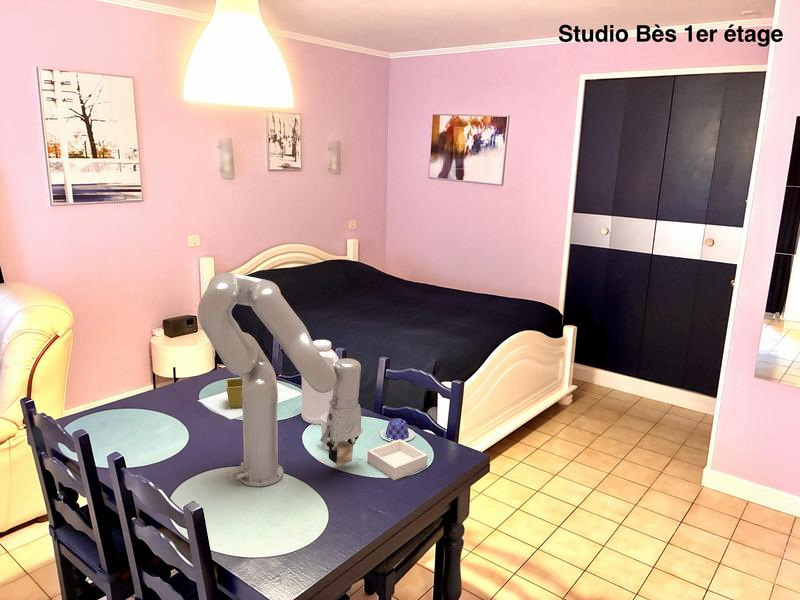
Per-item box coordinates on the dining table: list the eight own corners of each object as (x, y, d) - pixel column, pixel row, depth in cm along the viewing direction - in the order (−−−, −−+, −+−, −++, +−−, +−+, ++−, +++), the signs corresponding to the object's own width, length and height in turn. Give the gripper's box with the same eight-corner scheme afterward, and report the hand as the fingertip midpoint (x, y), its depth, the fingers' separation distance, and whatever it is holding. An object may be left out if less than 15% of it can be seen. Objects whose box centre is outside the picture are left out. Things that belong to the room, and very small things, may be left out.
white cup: (341, 453, 187) (341, 424, 185) (317, 450, 188) (317, 421, 186) (348, 442, 195) (348, 413, 192) (325, 439, 196) (325, 411, 194)
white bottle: (323, 428, 203) (324, 351, 197) (293, 418, 210) (292, 343, 204) (348, 414, 215) (349, 341, 209) (318, 405, 222) (319, 334, 216)
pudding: (406, 447, 193) (407, 432, 192) (373, 439, 198) (373, 424, 197) (420, 432, 204) (420, 418, 203) (388, 425, 209) (389, 411, 208)
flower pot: (226, 401, 223) (225, 378, 220) (250, 399, 225) (250, 377, 223) (227, 411, 214) (226, 387, 212) (252, 408, 217) (251, 385, 215)
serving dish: (394, 480, 172) (394, 467, 172) (367, 462, 182) (367, 450, 181) (427, 467, 181) (427, 455, 180) (399, 450, 190) (400, 439, 189)
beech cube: (338, 465, 173) (339, 449, 172) (328, 458, 177) (329, 442, 176) (351, 461, 177) (353, 445, 176) (342, 454, 180) (343, 439, 179)
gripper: (327, 411, 165) (323, 470, 169) (375, 400, 176) (370, 456, 180) (313, 401, 170) (309, 459, 174) (360, 391, 181) (356, 446, 185)
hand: (340, 457), depth 177 cm, fingers closed on beech cube, 5 cm apart
